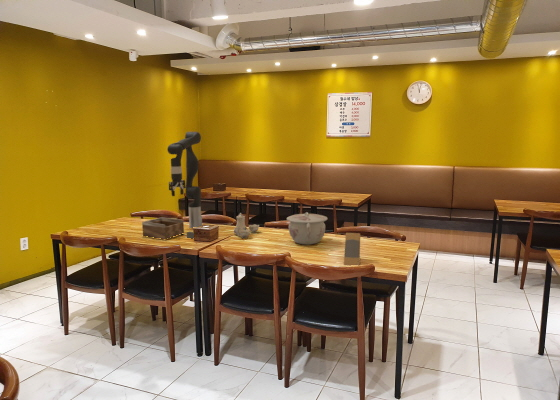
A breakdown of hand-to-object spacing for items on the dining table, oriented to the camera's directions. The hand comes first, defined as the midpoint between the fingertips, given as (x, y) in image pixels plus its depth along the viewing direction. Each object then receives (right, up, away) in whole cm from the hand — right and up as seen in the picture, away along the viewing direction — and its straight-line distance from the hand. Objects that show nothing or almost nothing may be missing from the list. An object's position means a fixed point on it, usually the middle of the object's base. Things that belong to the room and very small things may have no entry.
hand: (177, 195), depth 294 cm
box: (-12, -30, +7) cm, 33 cm away
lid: (+12, -32, -7) cm, 35 cm away
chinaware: (+48, -29, +6) cm, 56 cm away
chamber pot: (+91, -32, -18) cm, 98 cm away
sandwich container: (+114, -39, -61) cm, 135 cm away
